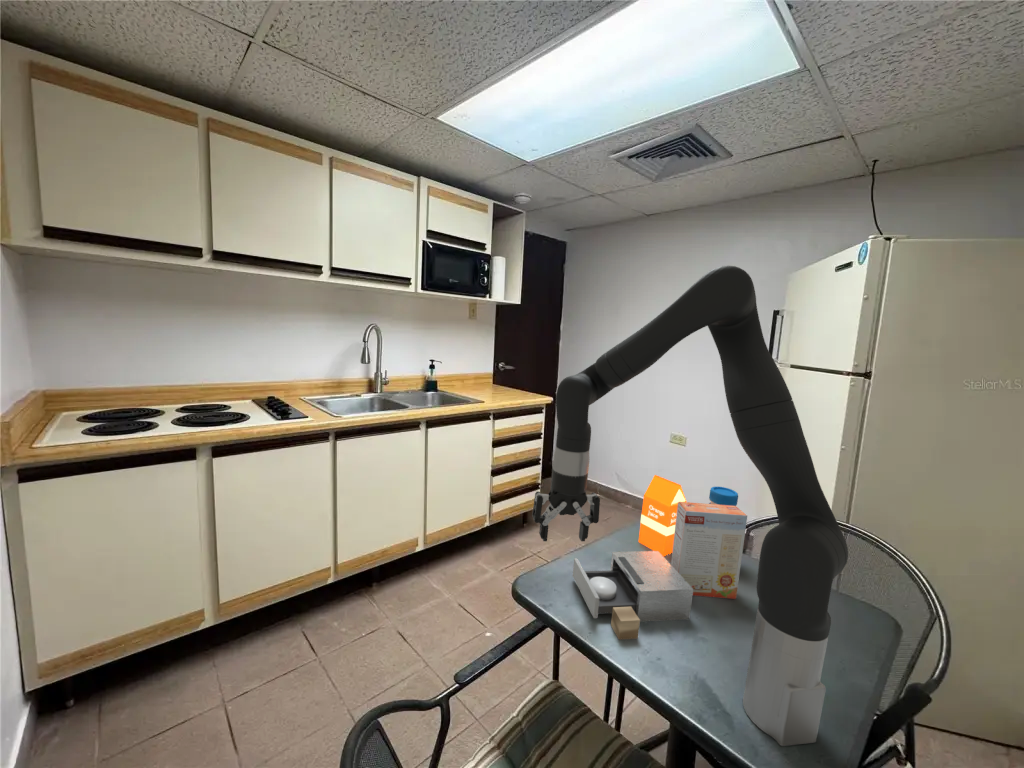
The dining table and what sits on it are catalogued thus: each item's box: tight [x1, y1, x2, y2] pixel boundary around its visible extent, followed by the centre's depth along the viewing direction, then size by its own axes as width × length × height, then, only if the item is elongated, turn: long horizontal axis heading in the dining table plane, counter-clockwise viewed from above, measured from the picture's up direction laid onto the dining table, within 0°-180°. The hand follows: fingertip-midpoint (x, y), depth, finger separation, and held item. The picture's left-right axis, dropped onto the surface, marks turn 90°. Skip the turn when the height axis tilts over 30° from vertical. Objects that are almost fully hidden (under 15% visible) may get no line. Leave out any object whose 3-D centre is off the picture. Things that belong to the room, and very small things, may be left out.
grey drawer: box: [572, 557, 638, 619], centre depth 93 cm, size 15×12×4 cm
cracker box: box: [670, 501, 748, 600], centre depth 98 cm, size 14×6×21 cm, turn 87°
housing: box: [610, 550, 693, 623], centre depth 94 cm, size 15×12×7 cm
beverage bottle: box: [708, 486, 739, 507], centre depth 111 cm, size 8×8×20 cm
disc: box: [590, 577, 617, 600], centre depth 93 cm, size 6×6×2 cm
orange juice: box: [638, 474, 688, 557], centre depth 117 cm, size 8×9×20 cm
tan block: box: [610, 607, 641, 640], centre depth 83 cm, size 4×4×4 cm
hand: (563, 539), depth 89 cm, fingers open, 8 cm apart
